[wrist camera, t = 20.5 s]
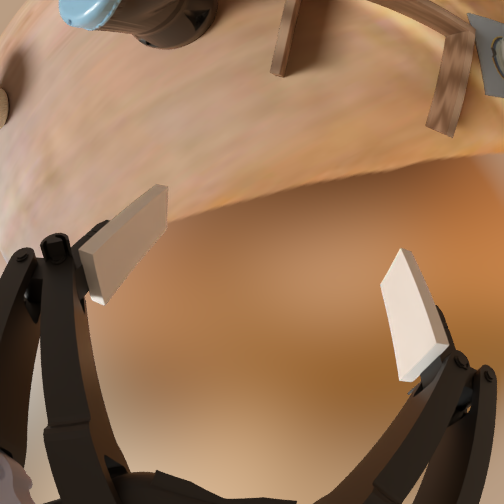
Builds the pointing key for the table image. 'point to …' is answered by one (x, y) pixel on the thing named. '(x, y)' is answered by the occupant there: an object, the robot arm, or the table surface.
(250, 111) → the table surface
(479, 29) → the rubber mat
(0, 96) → the canister
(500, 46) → the apothecary jar
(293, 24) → the walnut u-shaped frame
